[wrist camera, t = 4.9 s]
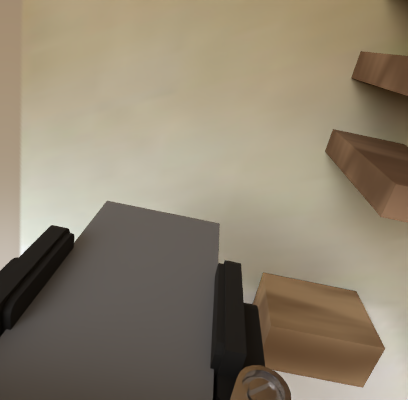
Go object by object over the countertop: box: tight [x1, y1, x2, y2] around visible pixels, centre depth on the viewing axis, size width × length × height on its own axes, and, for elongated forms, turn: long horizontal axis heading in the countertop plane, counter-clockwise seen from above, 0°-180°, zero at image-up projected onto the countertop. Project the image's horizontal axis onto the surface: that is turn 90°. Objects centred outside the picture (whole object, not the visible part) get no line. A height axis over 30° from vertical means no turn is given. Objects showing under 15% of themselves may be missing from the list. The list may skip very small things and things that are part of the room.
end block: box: [253, 273, 385, 387], centre depth 28 cm, size 4×8×6 cm, turn 79°
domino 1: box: [0, 201, 220, 400], centre depth 11 cm, size 2×5×10 cm, turn 79°
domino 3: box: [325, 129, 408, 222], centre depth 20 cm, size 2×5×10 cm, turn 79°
